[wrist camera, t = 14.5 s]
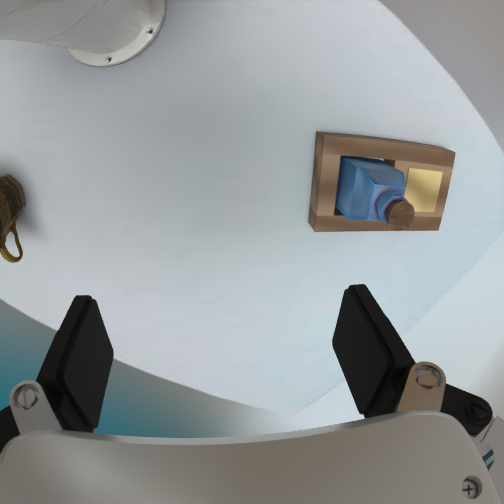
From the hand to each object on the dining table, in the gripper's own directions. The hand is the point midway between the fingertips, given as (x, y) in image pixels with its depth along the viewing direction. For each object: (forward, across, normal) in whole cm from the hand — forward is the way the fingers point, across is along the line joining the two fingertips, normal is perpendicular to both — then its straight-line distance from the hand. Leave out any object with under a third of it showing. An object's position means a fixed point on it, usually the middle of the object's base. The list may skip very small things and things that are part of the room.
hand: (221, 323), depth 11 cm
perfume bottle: (+28, -18, +3) cm, 34 cm away
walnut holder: (+28, -22, +3) cm, 36 cm away
